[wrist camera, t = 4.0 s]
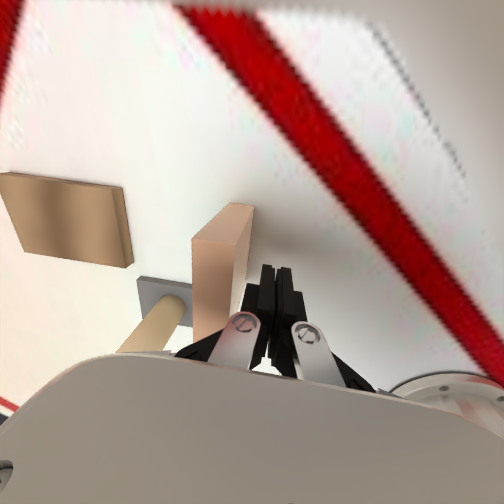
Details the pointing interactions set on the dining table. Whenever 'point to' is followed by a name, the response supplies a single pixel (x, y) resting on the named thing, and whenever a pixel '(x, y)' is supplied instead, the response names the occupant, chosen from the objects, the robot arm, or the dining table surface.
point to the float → (159, 313)
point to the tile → (220, 268)
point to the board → (68, 219)
